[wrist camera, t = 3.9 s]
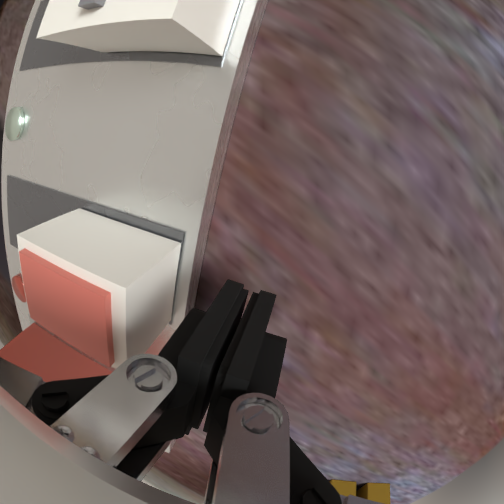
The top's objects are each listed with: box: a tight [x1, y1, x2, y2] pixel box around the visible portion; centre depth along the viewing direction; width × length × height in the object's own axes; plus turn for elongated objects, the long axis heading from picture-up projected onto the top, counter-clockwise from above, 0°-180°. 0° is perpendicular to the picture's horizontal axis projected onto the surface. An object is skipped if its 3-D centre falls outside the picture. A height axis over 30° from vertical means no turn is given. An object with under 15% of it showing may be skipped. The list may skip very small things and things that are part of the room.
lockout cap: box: [0, 323, 112, 382], centre depth 14 cm, size 7×9×5 cm
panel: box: [1, 0, 268, 453], centre depth 12 cm, size 30×13×2 cm, turn 166°
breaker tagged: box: [17, 208, 181, 369], centre depth 9 cm, size 4×5×4 cm
